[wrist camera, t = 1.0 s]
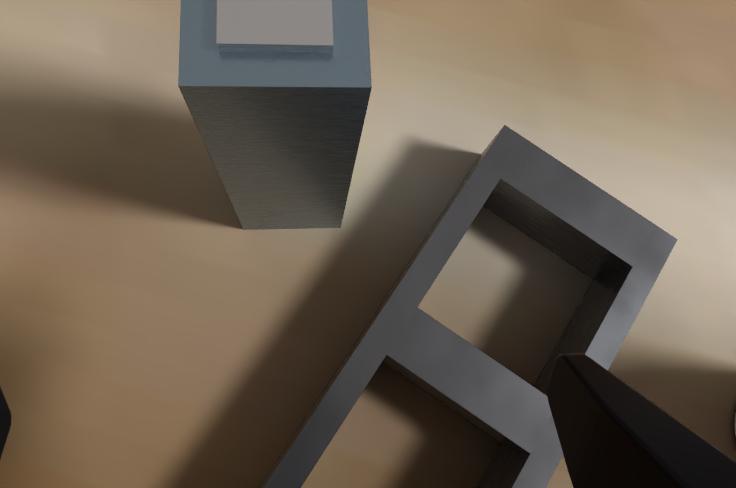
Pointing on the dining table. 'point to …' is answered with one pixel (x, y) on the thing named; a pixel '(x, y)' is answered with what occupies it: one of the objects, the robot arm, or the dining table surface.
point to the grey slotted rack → (463, 360)
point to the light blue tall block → (278, 102)
